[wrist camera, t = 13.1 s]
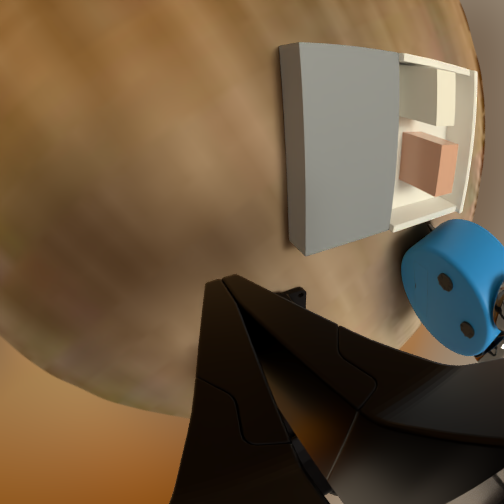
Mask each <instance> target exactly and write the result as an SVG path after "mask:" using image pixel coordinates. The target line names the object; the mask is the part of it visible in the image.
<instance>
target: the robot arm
mask: <svg viewBox="0 0 504 504" xmlns="http://www.w3.org/2000/svg"><path fill="white" fill-rule="evenodd" d="M328 493H330V494H333V495H336V496H339V498H340V499H341V501H342V502H343V503H344V504H504V358H500V359H495V360H490V361H485V362H480V363H475V364H469V365H462V366H455V365H446V364H441V363H437V362H434V361H430V360H428V359H425V358H422V357H419V356H416V355H413V354H409V353H407V352H404V351H401V350H398V349H395V348H392V347H389V346H387V345H384V344H381V343H379V342H376V341H374V340H371V339H369V338H366V337H364V336H362V335H360V334H357V333H355V332H353V331H351V330H349V329H347V328H345V327H342V326H338V324H336V323H334V322H332V321H330V320H328V319H326V318H324V317H322V316H319V315H317V314H315V313H313V312H311V311H309V310H307V309H306V291H305V290H304V289H303V288H297V289H294V290H291V291H288V292H285V293H282V294H279V295H277V294H275V293H273V292H271V291H269V290H267V289H265V288H263V287H261V286H259V285H257V284H255V283H253V282H251V281H249V280H247V279H245V278H243V277H241V276H239V275H237V274H233V275H230V276H227V277H223V278H222V280H221V279H216V280H213V281H210V282H207V283H206V284H205V290H204V299H203V308H202V317H201V326H200V336H199V346H198V356H197V367H196V379H195V387H194V397H193V405H192V413H191V418H190V423H189V428H188V433H187V438H186V441H185V446H184V450H183V454H182V458H181V463H180V467H179V471H178V475H177V480H176V484H175V487H174V491H173V494H172V497H171V500H170V503H169V504H330V503H329V502H328V500H327V499H326V498H325V496H324V495H326V494H328Z"/></svg>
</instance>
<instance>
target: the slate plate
mask: <svg viewBox="0 0 504 504" xmlns="http://www.w3.org/2000/svg"><path fill="white" fill-rule="evenodd" d="M279 53H280V66H281V80H282V94H283V110H284V127H285V146H286V167H287V191H288V222H289V241H290V242H291V243H292V244H293V245H294V246H295V247H296V248H297V249H298V250H299V251H300V252H301V253H302V254H304V255H305V256H309V255H312V254H315V253H318V252H321V251H325V250H328V249H331V248H334V247H337V246H340V245H344V244H347V243H350V242H353V241H356V240H359V239H362V238H366V237H369V236H372V235H375V234H378V233H381V232H384V231H387V230H389V226H390V219H391V212H392V203H393V195H394V185H395V175H396V163H397V149H398V131H399V53H396V52H391V51H385V50H378V49H371V48H364V47H356V46H346V45H336V44H323V43H303V42H298V43H292V44H287V45H281V46H279Z"/></svg>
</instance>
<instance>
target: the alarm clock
mask: <svg viewBox="0 0 504 504" xmlns="http://www.w3.org/2000/svg"><path fill="white" fill-rule="evenodd" d="M427 226H428V227H429V229H430V231H431V232H430V233H429V234H428V235H426V236H425V237H424V238H423V239H421V240H420V241H419V242H417V243H416V244H415V245H413V246H412V247H411V248H410V249H408V251H407V252H406V253H405V255H404V257H403V260H402V264H401V275H402V281H403V285H404V289H405V292H406V295H407V297H408V299H409V302H410V304H411V306H412V308H413V309H414V311H415V313H416V315H417V316H418V318H419V319H420V321H421V322H422V323H423V325H424V326H425V327H426V329H427V330H428V331H429V332H430V333H431V334H432V335H433V336H434V337H435V338H436V339H437V340H438V341H439V342H440V343H441V344H443V345H444V346H445V347H447V348H448V349H450V350H452V351H454V352H456V353H458V354H461V355H465V356H474V357H475V359H476V360H477V361H478V362H479V363H480V362H485V361H490V360H495V359H500V358H503V357H504V247H503V245H502V244H501V243H500V242H499V241H498V240H497V239H496V238H495V237H494V236H493V235H492V234H491V233H489V231H487V230H486V229H484V228H483V227H481V226H479V225H478V224H475V223H473V222H470V221H467V220H462V219H452V220H448V221H446V222H444V223H442V224H440V225H439V226H438V227H437V228H434V227H433V226H432V225H431V224H428V225H427Z"/></svg>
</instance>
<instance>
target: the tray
mask: <svg viewBox="0 0 504 504" xmlns="http://www.w3.org/2000/svg"><path fill="white" fill-rule="evenodd" d="M399 65H407V66H416V67H425V68H433V69H439V70H445V71H450V72H454V73H455V74H456V91H455V120H454V126H434V125H430V124H427V123H423V122H420V121H416V120H412V119H409V118H405V117H401V116H399V131H398V149H397V163H396V175H395V185H394V195H393V203H392V212H391V219H390V226H389V230H390V231H391V232H396V231H399V230H402V229H405V228H408V227H411V226H414V225H417V224H420V223H423V222H426V221H429V220H431V219H434V218H437V217H440V216H443V215H446V214H449V213H452V212H454V211H456V212H458V213H461V212H462V210H463V206H464V201H465V196H466V190H467V185H468V179H469V172H470V166H471V159H472V151H473V143H474V133H475V121H476V106H477V71H473V70H469V69H466V68H462V67H459V66H455V65H452V64H448V63H445V62H441V61H437V60H433V59H429V58H424V57H420V56H415V55H410V54H405V53H399ZM403 132H424V133H427V134H430V135H433V136H436V137H439V138H442V139H445V140H448V141H451V142H454V143H456V144H459V145H458V154H457V161H456V169H455V175H454V181H453V187H452V193H449V194H445V195H441V196H437V197H434V196H432V195H430V194H428V193H426V192H424V191H422V190H420V189H418V188H416V187H414V186H412V185H410V184H408V183H406V182H404V181H402V180H399V171H400V161H401V149H402V134H403Z"/></svg>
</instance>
